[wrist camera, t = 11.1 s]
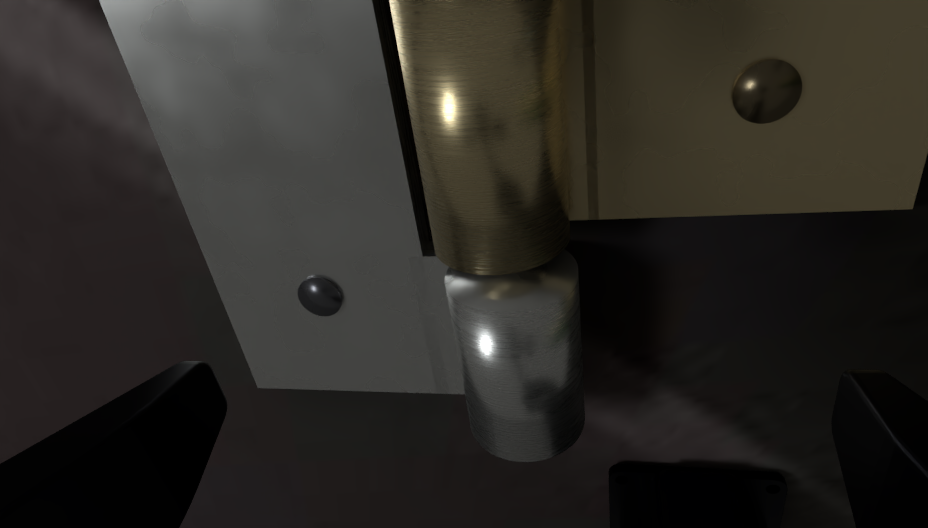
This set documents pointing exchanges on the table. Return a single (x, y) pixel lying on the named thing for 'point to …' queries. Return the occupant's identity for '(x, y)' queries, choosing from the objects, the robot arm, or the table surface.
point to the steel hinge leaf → (341, 218)
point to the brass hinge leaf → (655, 113)
